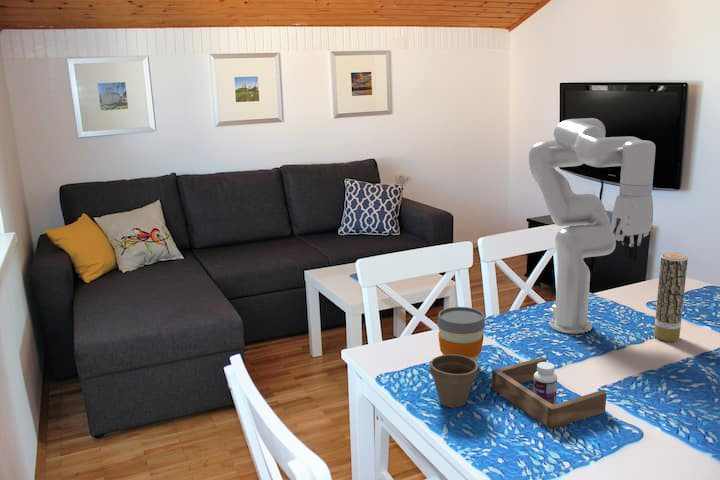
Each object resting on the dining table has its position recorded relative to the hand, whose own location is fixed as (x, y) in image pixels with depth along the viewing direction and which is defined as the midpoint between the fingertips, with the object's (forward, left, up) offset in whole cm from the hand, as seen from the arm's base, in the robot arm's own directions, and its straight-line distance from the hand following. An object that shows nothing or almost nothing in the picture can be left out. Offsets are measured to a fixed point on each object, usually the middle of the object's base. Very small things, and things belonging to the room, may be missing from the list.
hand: (629, 259), depth 170 cm
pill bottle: (+7, -32, -29) cm, 44 cm away
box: (+6, -31, -29) cm, 43 cm away
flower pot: (-4, -51, -29) cm, 59 cm away
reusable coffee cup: (-19, -39, -29) cm, 52 cm away
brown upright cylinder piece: (-6, +24, -29) cm, 38 cm away
